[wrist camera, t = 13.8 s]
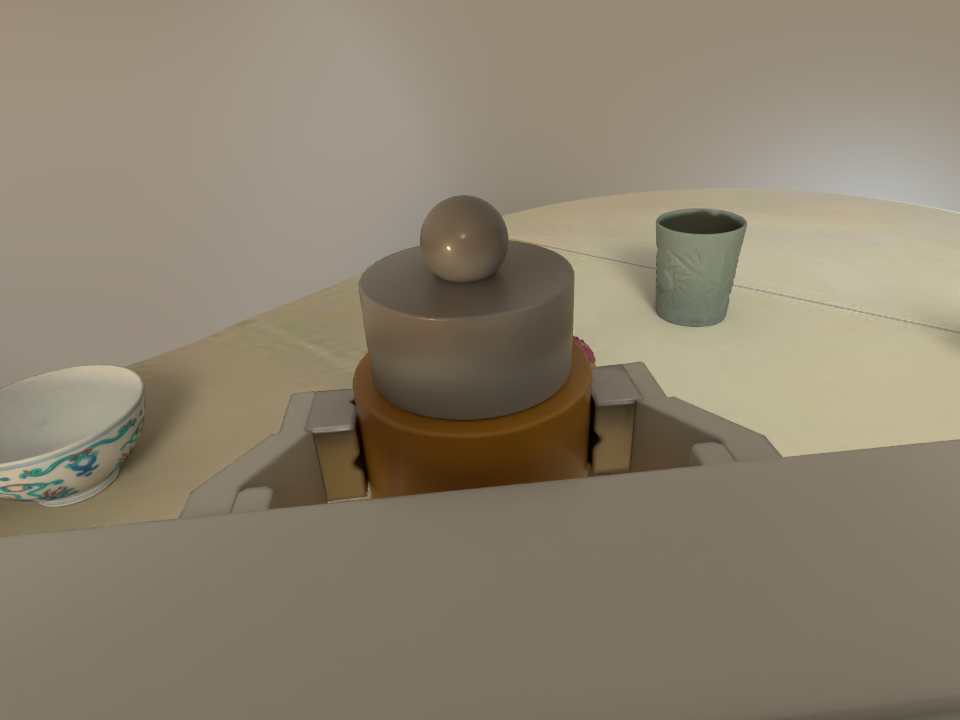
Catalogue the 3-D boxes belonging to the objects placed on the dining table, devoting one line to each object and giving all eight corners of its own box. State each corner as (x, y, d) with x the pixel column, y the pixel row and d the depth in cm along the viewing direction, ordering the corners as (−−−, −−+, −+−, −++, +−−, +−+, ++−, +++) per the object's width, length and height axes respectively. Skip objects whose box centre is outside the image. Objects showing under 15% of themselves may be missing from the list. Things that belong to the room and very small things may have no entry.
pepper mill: (386, 769, 19) (265, 210, 11) (484, 657, 22) (450, 159, 14) (511, 888, 16) (480, 263, 8) (602, 741, 20) (650, 183, 11)
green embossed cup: (735, 301, 81) (749, 210, 75) (728, 335, 73) (744, 236, 67) (655, 293, 85) (663, 205, 79) (641, 324, 77) (649, 229, 71)
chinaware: (82, 556, 47) (42, 477, 44) (-69, 530, 51) (-118, 454, 47) (202, 439, 60) (179, 370, 56) (75, 425, 63) (45, 359, 60)
